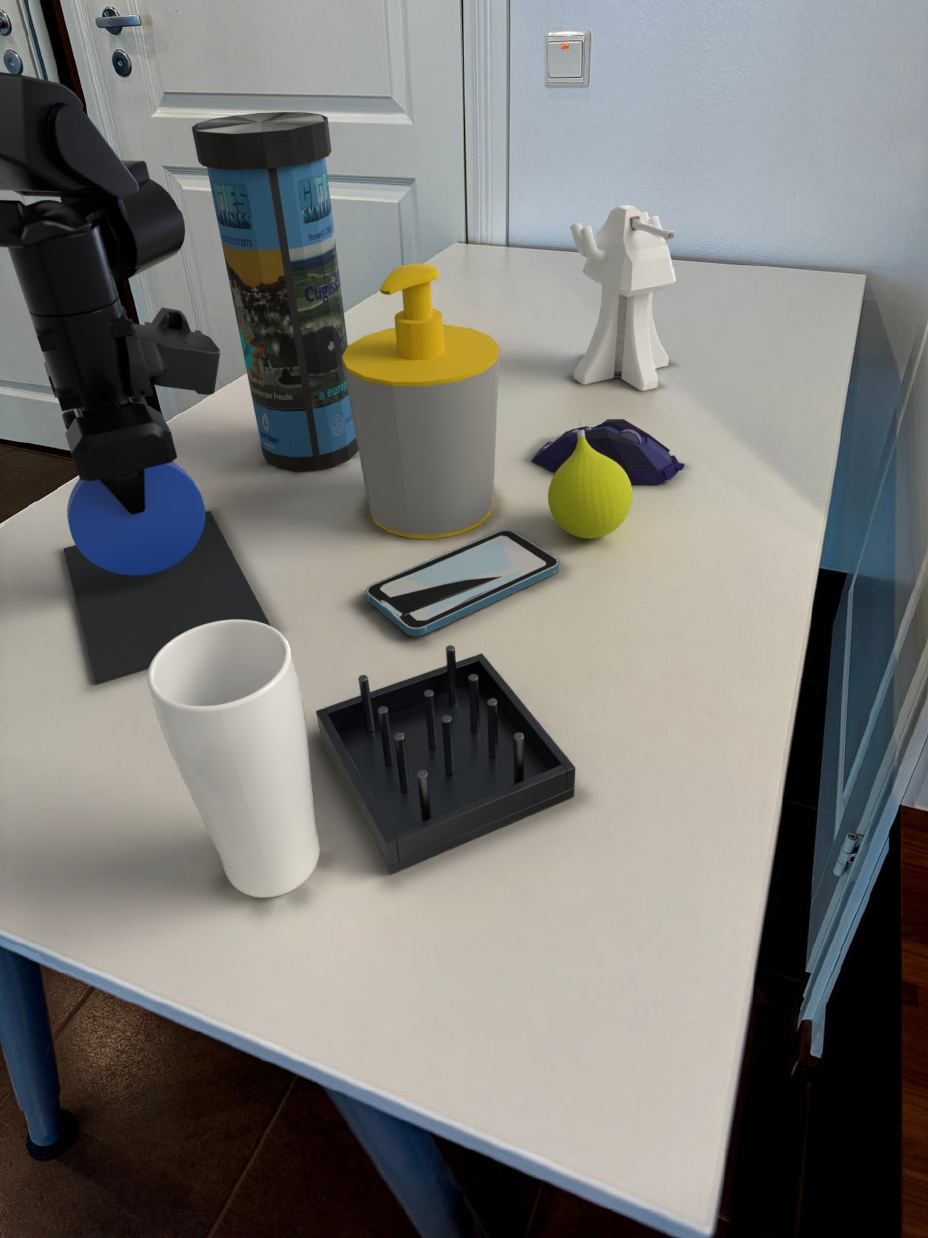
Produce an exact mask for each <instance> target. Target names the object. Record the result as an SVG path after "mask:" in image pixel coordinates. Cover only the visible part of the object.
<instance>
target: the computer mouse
mask: <svg viewBox="0 0 928 1238" xmlns="http://www.w3.org/2000/svg"><path fill="white" fill-rule="evenodd" d="M580 428H581V429H580ZM580 430H584V432H585V439H586V441H587V443H588V444H589V445H590V447H591V448H593V449H594V450H595V451H597V452H598V453H600V454H602V455H604V456H606V457H608V458H610V459H611V460H613V461H615V462H616V463H618V464H619V465H620V466H621V467H622V468H623V470H624V471H625V473H626V474H627V476H628V478H629V480H630V483H631V486H632V485H633V486H634V485H635V486H636V485H637V486H658V485H661V484H662V483H665V482H669V481H670V480H672V479H673V478H674V477H675V476H676V475H677V474H678V473H679V472H680V471H683V469H684V468H685V466H686V464H685V463H684V462H679V461H678V458H677V457H676V455H675V454H674V455H673V454H672V455H671V454H670V452H671V450H670V449H669V448H668V447H667V446H665V444H663V443H662V442H660V441H658V439H656V438H655V437H653V436H652V435H651V434H650V433H648V432H646V431H644V430H642V429H641V428H640V427H638V426H636V425H634V424H633V423H631V422H629V421H628V420H626V419H624V418H606V419H605V420H604V421H603V422H602V423H599V424H597V425H595V426H588V425H585V426H579V427H576V428H572V429H569V430H567V431H564V432H563V433H562V434H561V435H559V436H558V437H557V438H556V439H554V440H552V441H547V442H546V443H545V444H544V445H543V446H542V447H541V448H540V449H539V450H538V451H537V452H536V454H534V456H533V458H532V459H531V462H533V463H535V464H537V465H538V466H540V467H542V468H544V469H546V470H548V471H550V472H552V473H554V474H555V473H556V471H557V470H558V469H559V468H560V467H561V466H562V464H563V463H564V462H565V461H567V460H568V458H569V457H570V456H571V455H572V454H573V452H574V451H575V449H576V446H577V442H578V437H577V431H580Z"/></svg>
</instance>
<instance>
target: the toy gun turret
mask: <svg viewBox="0 0 928 1238" xmlns="http://www.w3.org/2000/svg"><path fill="white" fill-rule="evenodd" d="M570 231H571V232H570V233H571V235H572V237H573V241H574V245H575V248H576V250H577V251H578V253H579V254H580V255H581V256H583V257H584V258H586V261H585V264H584V266H583V269H582V271H581V272H582V273H583V274H584V275H585V276H586V277H587V279H590V280H592V281H594V282H595V283H598V284H599V285H601V299H600V308H599V313H598V320H597V322H596V326H595V328H594V331H593V334H592V337H591V340H590V342H589V344H588V347H587V349H586V351H585V353H584V355H583V356H582V358H581V360H580V361H579V363H578V365H577V366H576V367H575V369H574V373H573V376H574V377H573V379H574V380H575V381H577V382H578V383H579V384H581V385H589V384H593V383H598V382H602V381H607V380H610V379H614V378H615V379H621V380H622V381H624V382H625V383H627V384H629V385H631V386H632V387H633V388H635V389H636V390H638V391H640V392H644V391H649V390H653V389H657V388H658V383H659V376H658V374H657V370H656V369H660V368H664V367H668V365H669V354H667V352H666V351H665V349H664V347H663V344H661V342H660V339H659V336H658V333H657V328H656V325H655V320H654V317H653V293H655V292H659V291H664V290H668V289H670V288H672V286H673V285H674V284H675V283H676V281H677V277H676V272H675V268H674V264H673V260H672V256H671V253H670V248H669V245H668V244H667V243H666V242H672V241H673V240H674V239H675V237H676V236H675V231H673V230H672V229H667V230H666V229H664V228H663V226H662V223H661V221H660V218H659V215H653V216H651V217H650V216H649V214H648V212H647V211H644V212H643V211H640V209H638V208H637V207H635V206H632V205H630V204H626V205H620V206H617V207H615V208H613V209H611V210H610V211H609V214H608V217H607V219H606V220H605V222H604V223H603V225H602V226H601V228H600V229H599V230H598V231H597V232H596V233H594V232H593V229H592V226H590V225H587V226H584V227H583V226H582V223H581V222H579V221H578V222H574V223H572V224H571V225H570Z"/></svg>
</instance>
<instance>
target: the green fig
mask: <svg viewBox="0 0 928 1238" xmlns="http://www.w3.org/2000/svg"><path fill="white" fill-rule="evenodd" d="M579 425H581V421H579ZM579 428H580V427H579ZM580 429H581V428H580ZM577 437H578V442H577V446H576V449H575V451H574V452H573V454H572V455H571V456H570V457H569V458H568V460H567V461H565V462H564V463H563V464H562V466H561V467H560V468H559V469H558V470H557V471H556V473H555V472H554V475H553V476H552V478H551V480H550V483H549V486H548V492H547V503H548V508H549V511H550V514H551V516H552V518H553V519H554V521H555V523H557V525H558V526H559V527H560V528H561V529H562V530H563V531H565V532H567V533H568V534H569V535H572V536H574V537H576V538H581V539H598V538H602V537H605V536H607V535H610V534H611V533H613V532H614V531H616V530H617V529H618V528H619V527H621V525H623V524H624V522H625V520H626V519H627V517H628V515H629V513H630V510H631V508H632V504H633V498H634V495H633V487H632V485H631V483H630V480H629V478H628V476H627V474H626V473H625V471H624V470H623V468H622V467H621V466H620V465H619V464H618V463H616V462H615V461H613V460H611V459H610V458H608V457H606V456H604V455H602V454H600V453H598V452H597V451H595V450H594V449H593V448H591V447H590V445H589V444H588V443H587V441H586V439H585V432H584V430H580V431H577Z"/></svg>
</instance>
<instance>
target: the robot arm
mask: <svg viewBox="0 0 928 1238" xmlns="http://www.w3.org/2000/svg"><path fill="white" fill-rule="evenodd" d="M83 108H84V103H83V102H82V100H81V99H80V98H79V97H78V96H77V94H76V93H75V92H74V91H72V90H71V89H70V88H68V87H67V86H66V85H64V84H62V83H59V82H57V81H51V80H47V79H42V78H38V77H34V76H28V75H23V74H18V73H11V72H5V71H4V72H3V71H0V191H8V192H9V191H10V192H11V191H12V192H14V193H15V194H18V195H19V196H21V197H43V198H59V199H60V201H59V200H54V199H41V200H37V201H35V202H32V203H29V204H24V203H23V201H21V200H19V199H17V200H16V199H0V248H7V251H8V253H9V257H10V260H11V262H12V265H13V269H14V271H15V275H16V277H17V281H18V283H19V286H20V289H21V292H22V296H23V298H24V302H25V305H26V308H27V311H28V314H29V317H30V319H31V322H32V325H33V328H34V333H35V335H36V338H37V341H38V344H39V347H40V350H41V353H42V354H43V358H44V361H45V362H44V363H43V364H44V368H45V372H46V375H47V378H48V381H49V385H50V388H51V390H52V393H53V396H54V398H55V399H57V401H58V404H59V406H60V409H61V412H63V413H62V414H61V417H62V420H63V424H64V427H65V429H66V430H67V431H66V432H65V433H64V435H65V437H66V442H67V445H68V448H69V451H70V455H71V457H72V460H73V463H74V466H75V469H76V472H77V475H78V477H79V479H80V480H83V481H90V482H91V481H95V480H100V481H101V482H102V484H103V485H104V486H105V487H106V488H107V489H108V490H109V491H110V492H111V493H112V494H113V495H114V496H115V497H116V499H117V500H118V501H119V502H120V503H121V504H122V505H123V506H124V507H125V508H126V510H127V511H128V512H129V513H130V514H137V513H141V512H144V511H145V469H146V468H150V467H155V466H159V465H163V464H167V463H171V462H174V461H175V460H176V459H178V454H177V453H178V452H177V450H176V446H175V442H174V439H173V433H172V431H171V429H170V427H169V426H168V424H167V422H166V420H165V417H164V416H163V414H162V413H161V412H160V411H158V410H156V409H155V408H153V407H152V406H149V405H148V403H147V400H146V399H145V398H147V397H152V396H154V392H153V387H152V385H154V386H157V387H162V388H171V389H179V390H185V391H194V392H195V393H196V394H198V395H204V396H205V395H206V396H209V395H213V394H215V392H216V385H217V380H218V379H217V377H218V371H219V365H220V357H221V349H220V348H219V347H218V345H217V344H216V343H215V342H214V340H213V339H212V337H210V336H208V335H207V334H205V333H203V332H202V331H201V330H198V329H195V330H194V331H192V330H191V327H190V324H189V321H188V319H187V317H186V315H185V314H184V312H183V311H182V310H179V309H175V308H167V307H160V309H159V311H158V312H157V314H156V315H155V316H154V317H153V320H152V321H151V322H149V321H144V324H138V323H134V322H133V320H132V318H128V314H127V310H126V308H125V306H124V305H122V304H121V300H120V297H119V293H118V290H117V285H116V282H123V281H127V280H129V279H131V278H133V277H135V276H137V275H139V274H141V273H143V272H145V271H147V270H149V269H151V268H153V267H155V266H157V265H159V264H161V263H163V262H165V261H167V260H169V259H171V258H172V257H174V256H175V255H177V254H178V253H179V251H180V250H181V249H182V247H183V244H184V242H185V238H186V237H185V236H186V224H185V223H186V222H185V218H184V215H183V214H184V213H183V212H182V211H181V209H179V207H178V205H177V203H176V201H175V199H174V198H173V197H172V195H171V194H170V193H169V191H167V190H166V189H165V188H164V187H163V186H162V184H159V183H158V182H156V181H155V180H153V179H152V178H150V173H149V168H148V165H147V163H146V161H145V160H123V159H120V157H119V156H118V154H117V153H116V152H115V150H114V149H113V148H112V146H111V145H110V144H109V142H108V141H107V139H106V138H105V137H104V136H103V134H102V133H101V132H100V130H99V129H98V127H97V126H96V125H95V124H94V122H93V121H92V119H91V118H90V117H89V116H88V114H87V113H86V112H85V111H84V110H83Z"/></svg>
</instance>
